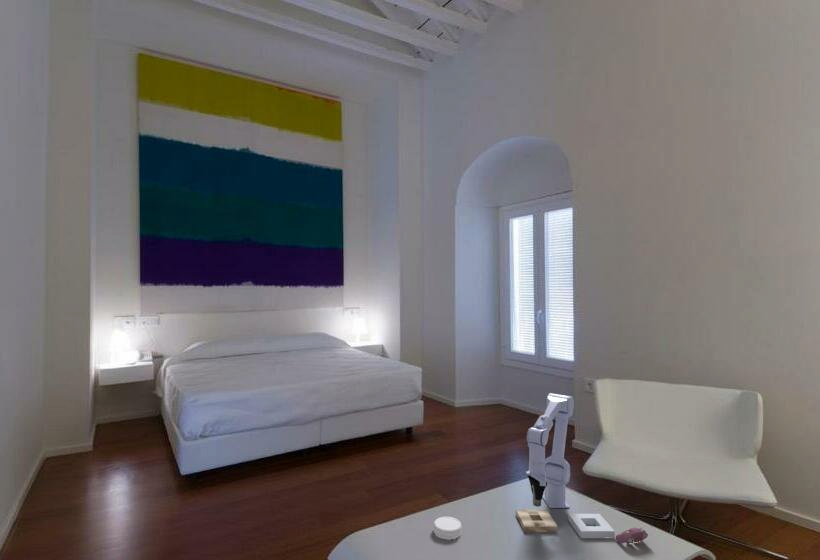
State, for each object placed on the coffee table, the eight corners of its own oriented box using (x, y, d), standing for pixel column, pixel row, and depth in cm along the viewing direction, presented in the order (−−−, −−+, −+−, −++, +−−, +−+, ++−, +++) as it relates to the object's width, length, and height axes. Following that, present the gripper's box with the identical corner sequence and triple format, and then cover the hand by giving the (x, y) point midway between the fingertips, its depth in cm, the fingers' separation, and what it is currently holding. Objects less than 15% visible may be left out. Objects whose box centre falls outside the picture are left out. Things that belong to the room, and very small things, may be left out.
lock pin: (530, 502, 166) (530, 483, 166) (540, 502, 166) (540, 483, 167) (533, 507, 163) (533, 487, 163) (543, 507, 163) (543, 488, 163)
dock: (568, 520, 167) (568, 513, 167) (599, 520, 167) (599, 513, 167) (581, 538, 155) (581, 531, 155) (614, 538, 155) (614, 531, 155)
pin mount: (515, 514, 170) (515, 509, 170) (546, 514, 171) (546, 509, 171) (524, 532, 158) (524, 526, 158) (557, 532, 159) (557, 526, 159)
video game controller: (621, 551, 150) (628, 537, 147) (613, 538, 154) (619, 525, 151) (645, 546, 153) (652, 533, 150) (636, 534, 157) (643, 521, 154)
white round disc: (460, 542, 152) (460, 532, 152) (431, 538, 154) (431, 528, 154) (462, 527, 162) (462, 517, 162) (435, 524, 164) (435, 514, 164)
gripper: (521, 453, 172) (521, 488, 172) (532, 468, 158) (532, 506, 157) (539, 453, 172) (538, 488, 172) (551, 468, 158) (551, 506, 157)
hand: (536, 496), depth 165 cm, fingers closed on lock pin, 3 cm apart
